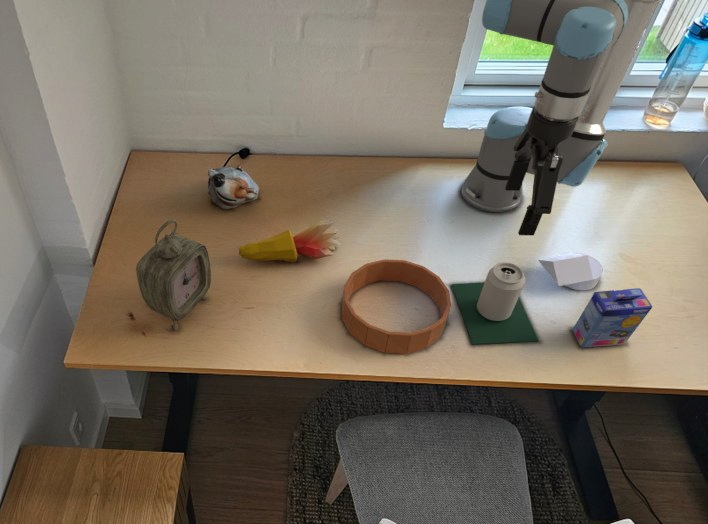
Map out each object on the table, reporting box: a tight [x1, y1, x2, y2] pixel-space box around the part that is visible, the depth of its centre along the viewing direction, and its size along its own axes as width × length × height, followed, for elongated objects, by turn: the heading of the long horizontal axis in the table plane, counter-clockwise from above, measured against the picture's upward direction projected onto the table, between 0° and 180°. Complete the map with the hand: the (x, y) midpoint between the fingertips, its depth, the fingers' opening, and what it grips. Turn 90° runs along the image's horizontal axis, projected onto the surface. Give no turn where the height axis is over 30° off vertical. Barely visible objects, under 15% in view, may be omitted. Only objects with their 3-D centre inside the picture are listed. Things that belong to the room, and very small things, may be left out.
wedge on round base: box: [537, 252, 604, 291], centre depth 137 cm, size 9×7×13 cm
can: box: [477, 261, 526, 321], centre depth 128 cm, size 8×8×12 cm
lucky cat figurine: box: [207, 164, 260, 211], centre depth 157 cm, size 15×12×14 cm
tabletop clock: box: [135, 219, 212, 332], centre depth 127 cm, size 14×9×25 cm, turn 148°
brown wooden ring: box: [341, 258, 452, 355], centre depth 132 cm, size 23×23×6 cm
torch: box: [238, 219, 342, 263], centre depth 144 cm, size 8×8×25 cm
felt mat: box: [450, 281, 539, 346], centre depth 133 cm, size 18×14×1 cm
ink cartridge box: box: [572, 287, 653, 348], centre depth 122 cm, size 10×6×14 cm, turn 95°
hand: (518, 211), depth 117 cm, fingers open, 13 cm apart
